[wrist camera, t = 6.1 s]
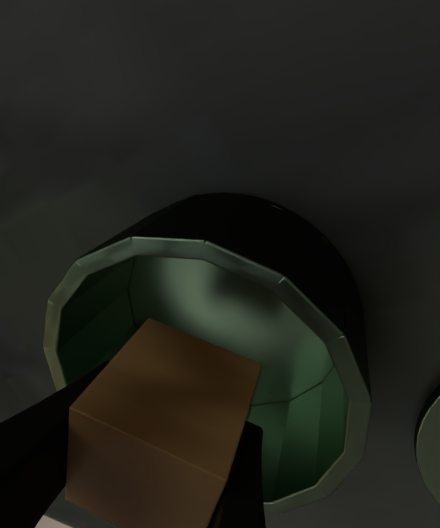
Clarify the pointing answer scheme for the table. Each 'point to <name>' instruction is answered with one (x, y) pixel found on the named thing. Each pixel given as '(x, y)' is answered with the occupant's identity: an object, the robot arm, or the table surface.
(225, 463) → the block
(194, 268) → the bowl
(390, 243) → the table surface
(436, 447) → the lid
